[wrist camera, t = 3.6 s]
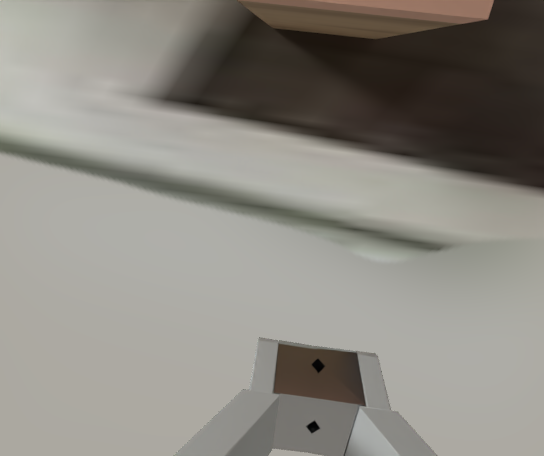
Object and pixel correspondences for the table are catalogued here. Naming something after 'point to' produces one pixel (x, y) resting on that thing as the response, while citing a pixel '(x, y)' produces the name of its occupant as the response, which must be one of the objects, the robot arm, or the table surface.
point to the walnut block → (367, 15)
